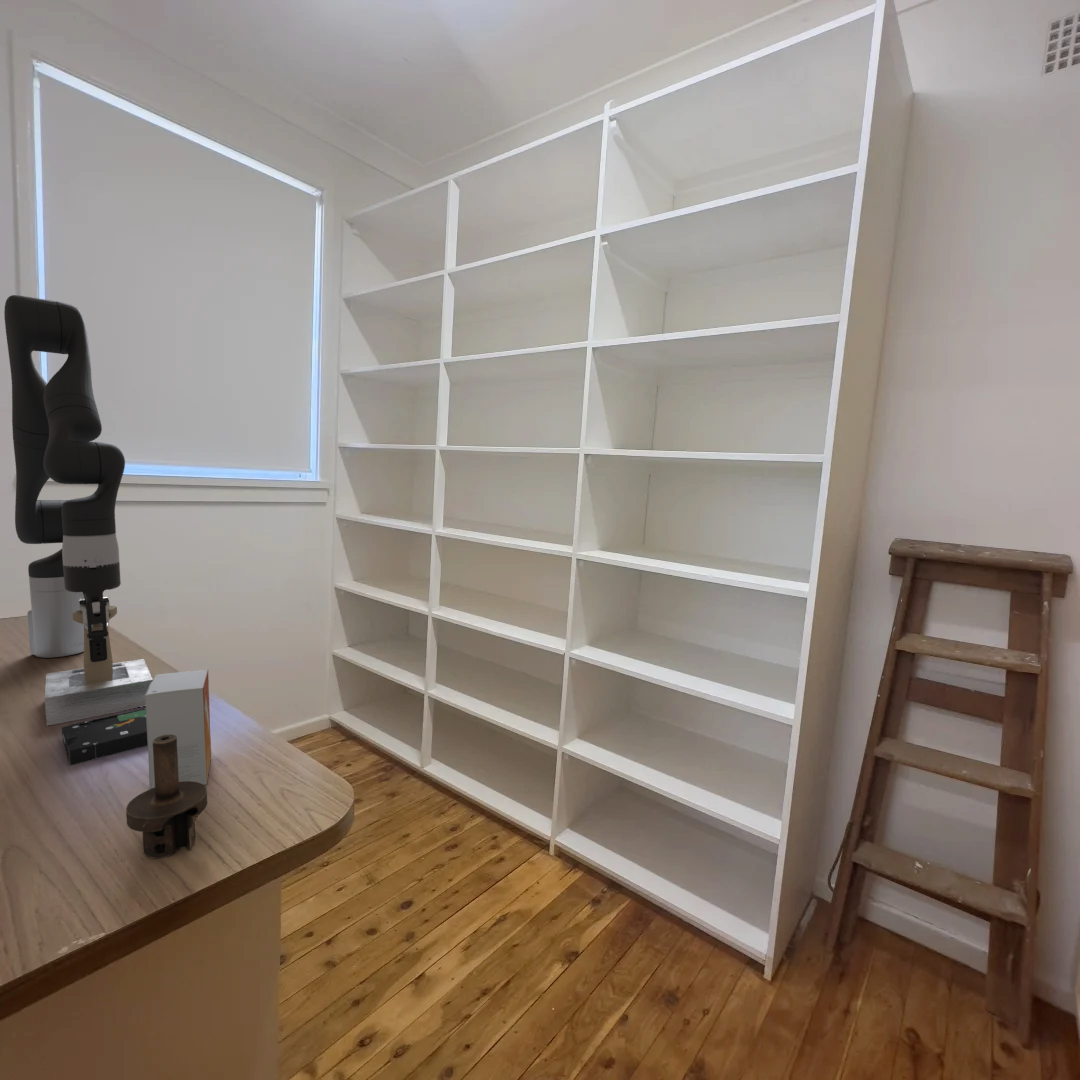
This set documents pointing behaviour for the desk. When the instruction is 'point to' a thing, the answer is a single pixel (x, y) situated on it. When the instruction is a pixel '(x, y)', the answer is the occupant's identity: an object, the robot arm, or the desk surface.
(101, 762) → the desk surface
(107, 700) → the socket block
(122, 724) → the disk drive
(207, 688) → the small box
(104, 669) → the handle
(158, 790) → the industrial component
